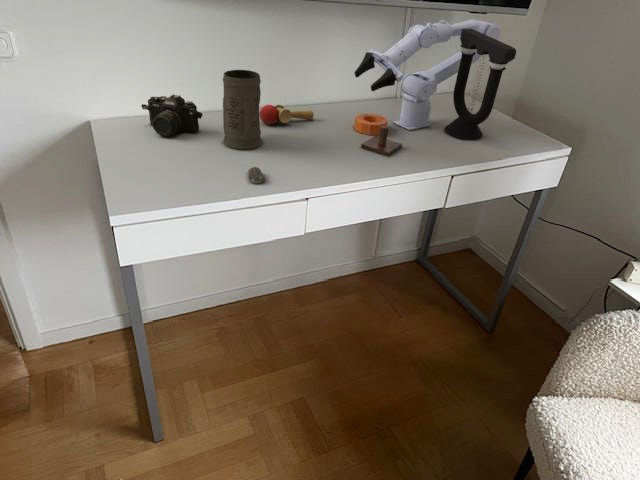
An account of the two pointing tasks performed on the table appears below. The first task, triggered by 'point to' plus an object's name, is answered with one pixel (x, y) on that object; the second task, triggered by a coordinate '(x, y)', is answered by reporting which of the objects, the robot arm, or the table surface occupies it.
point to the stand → (381, 143)
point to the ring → (369, 123)
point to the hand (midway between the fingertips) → (363, 81)
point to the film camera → (172, 115)
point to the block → (256, 175)
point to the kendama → (282, 114)
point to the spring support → (499, 57)
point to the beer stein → (241, 109)
